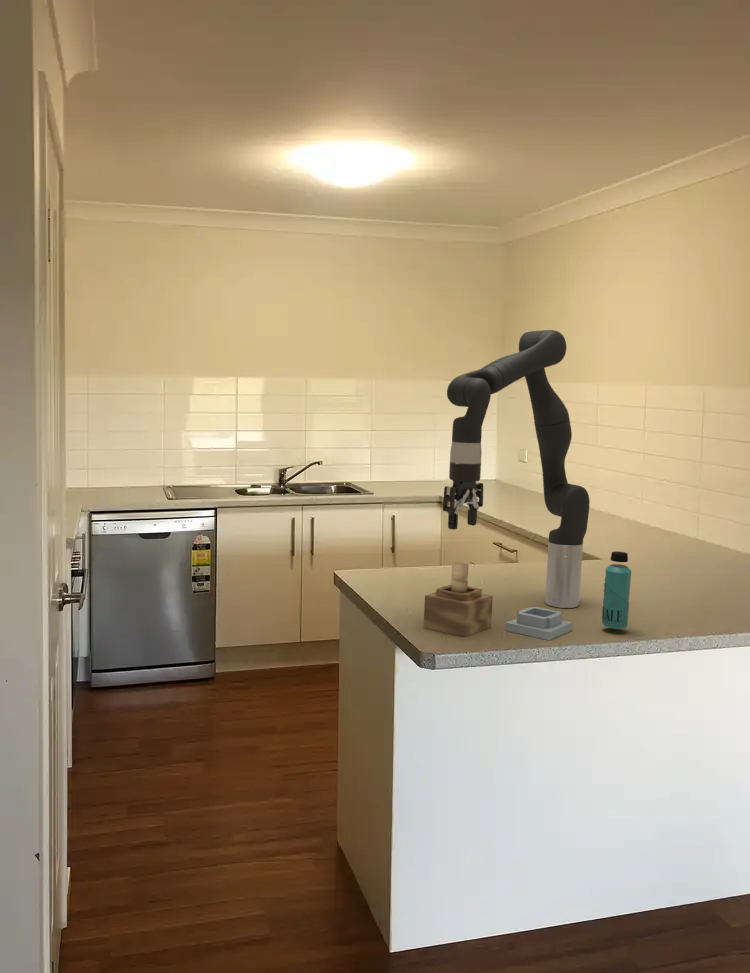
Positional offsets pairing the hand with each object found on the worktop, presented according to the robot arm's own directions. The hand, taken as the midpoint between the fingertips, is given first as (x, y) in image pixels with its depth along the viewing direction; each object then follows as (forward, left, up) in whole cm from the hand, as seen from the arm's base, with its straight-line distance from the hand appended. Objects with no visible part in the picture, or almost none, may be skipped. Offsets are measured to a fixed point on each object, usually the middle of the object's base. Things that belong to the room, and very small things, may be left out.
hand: (462, 527), depth 232 cm
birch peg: (0, 0, -17) cm, 17 cm away
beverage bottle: (-25, +30, -25) cm, 46 cm away
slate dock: (-12, +16, -25) cm, 32 cm away
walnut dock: (0, 0, -25) cm, 25 cm away
